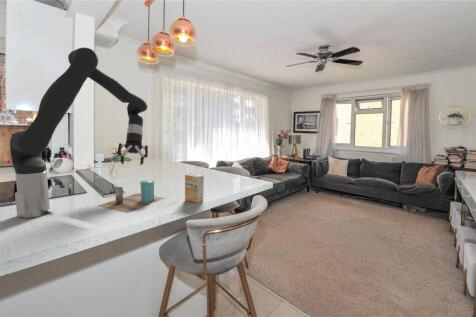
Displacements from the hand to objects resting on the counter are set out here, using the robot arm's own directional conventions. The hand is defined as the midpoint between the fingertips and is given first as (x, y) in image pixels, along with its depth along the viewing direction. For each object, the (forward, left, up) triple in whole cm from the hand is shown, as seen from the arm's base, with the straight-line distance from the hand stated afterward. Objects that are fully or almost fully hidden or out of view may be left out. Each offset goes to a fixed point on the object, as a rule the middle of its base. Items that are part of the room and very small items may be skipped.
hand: (132, 164), depth 119 cm
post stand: (-10, -11, -17) cm, 22 cm away
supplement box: (+8, -32, -17) cm, 37 cm away
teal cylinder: (-5, -15, -15) cm, 22 cm away
